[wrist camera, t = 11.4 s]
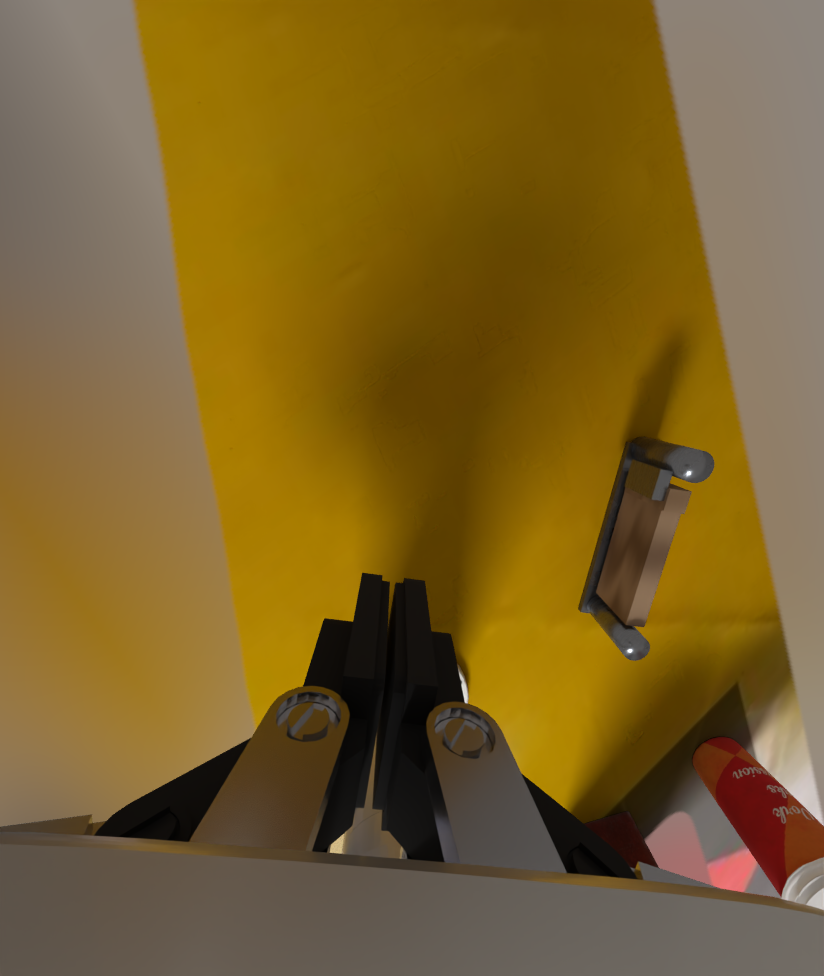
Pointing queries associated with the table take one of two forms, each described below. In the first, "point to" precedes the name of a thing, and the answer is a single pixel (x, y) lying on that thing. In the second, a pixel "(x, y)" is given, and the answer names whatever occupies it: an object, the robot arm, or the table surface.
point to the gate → (639, 552)
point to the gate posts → (639, 471)
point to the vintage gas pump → (623, 838)
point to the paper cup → (766, 820)
